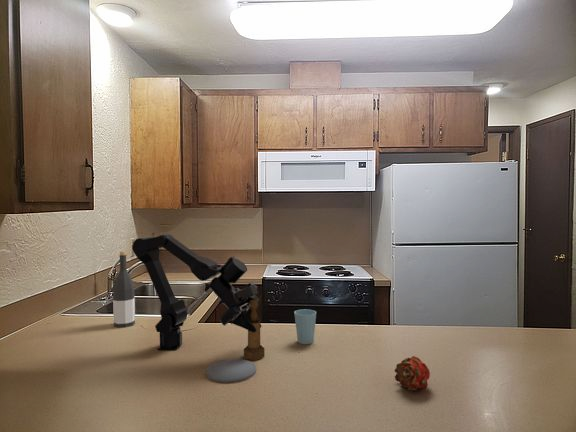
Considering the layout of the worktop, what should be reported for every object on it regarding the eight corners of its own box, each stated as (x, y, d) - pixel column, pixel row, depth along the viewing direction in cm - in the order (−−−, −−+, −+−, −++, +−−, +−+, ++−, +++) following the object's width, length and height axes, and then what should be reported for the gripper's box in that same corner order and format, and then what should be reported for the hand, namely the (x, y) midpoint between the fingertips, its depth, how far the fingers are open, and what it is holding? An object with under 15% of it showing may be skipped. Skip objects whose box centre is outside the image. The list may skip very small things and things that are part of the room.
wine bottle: (109, 327, 159) (107, 252, 158) (123, 321, 167) (121, 250, 166) (126, 328, 157) (124, 252, 156) (139, 322, 164) (137, 250, 164)
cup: (320, 343, 137) (320, 313, 136) (300, 346, 134) (300, 316, 133) (310, 337, 144) (310, 308, 143) (291, 340, 141) (290, 311, 140)
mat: (200, 382, 107) (200, 378, 107) (213, 362, 121) (213, 358, 121) (252, 383, 107) (252, 379, 106) (258, 362, 120) (258, 359, 120)
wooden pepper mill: (261, 360, 122) (260, 302, 121) (241, 359, 123) (240, 301, 123) (266, 352, 128) (266, 297, 128) (247, 351, 130) (246, 296, 129)
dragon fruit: (408, 404, 97) (409, 390, 108) (438, 387, 95) (436, 374, 107) (387, 373, 99) (390, 362, 111) (416, 355, 98) (416, 346, 109)
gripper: (228, 281, 117) (263, 321, 114) (253, 271, 135) (284, 305, 132) (205, 305, 120) (239, 345, 117) (232, 292, 138) (262, 327, 135)
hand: (258, 329), depth 125 cm, fingers closed on wooden pepper mill, 4 cm apart
